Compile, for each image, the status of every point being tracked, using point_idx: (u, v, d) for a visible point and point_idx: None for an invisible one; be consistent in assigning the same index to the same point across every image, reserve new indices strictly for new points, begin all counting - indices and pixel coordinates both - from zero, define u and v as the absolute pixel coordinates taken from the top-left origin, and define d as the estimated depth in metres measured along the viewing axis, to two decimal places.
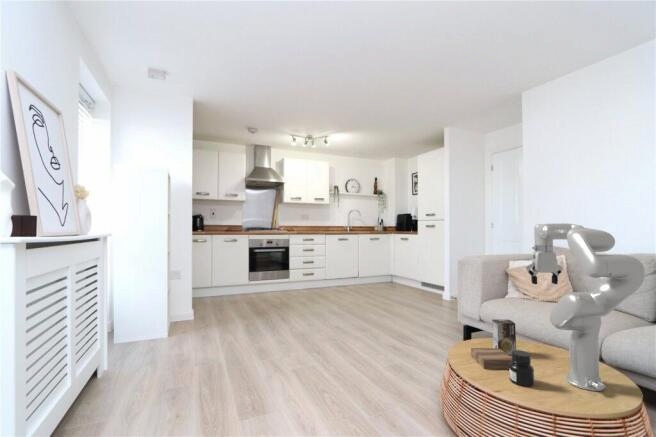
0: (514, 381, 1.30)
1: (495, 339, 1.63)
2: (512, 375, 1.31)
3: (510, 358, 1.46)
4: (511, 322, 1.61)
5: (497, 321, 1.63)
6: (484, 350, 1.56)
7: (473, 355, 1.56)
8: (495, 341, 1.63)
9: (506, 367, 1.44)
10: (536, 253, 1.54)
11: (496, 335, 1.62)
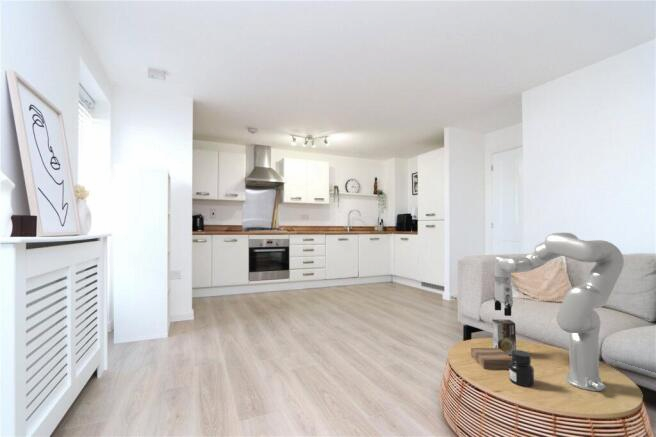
0: (514, 381, 1.30)
1: (495, 339, 1.63)
2: (512, 375, 1.31)
3: (510, 358, 1.46)
4: (511, 322, 1.61)
5: (497, 321, 1.63)
6: (484, 350, 1.56)
7: (473, 355, 1.56)
8: (495, 341, 1.63)
9: (506, 367, 1.44)
10: (510, 285, 1.59)
11: (496, 335, 1.62)
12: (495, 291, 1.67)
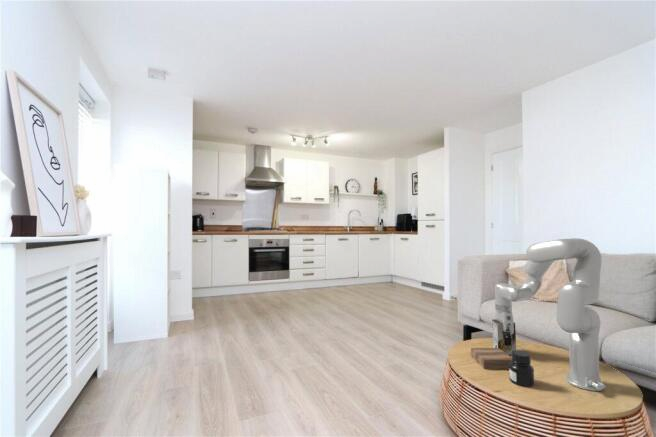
0: (514, 381, 1.30)
1: (495, 339, 1.63)
2: (512, 375, 1.31)
3: (510, 358, 1.46)
4: None
5: (497, 321, 1.63)
6: (484, 350, 1.56)
7: (473, 355, 1.56)
8: (495, 340, 1.63)
9: (506, 367, 1.44)
10: (511, 314, 1.59)
11: (496, 335, 1.62)
12: (496, 319, 1.66)
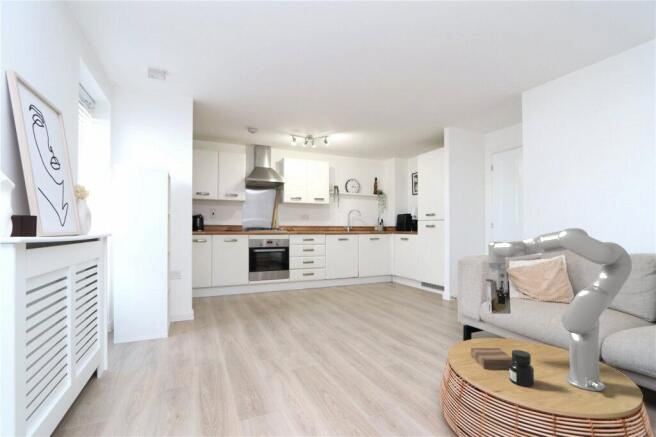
0: (514, 381, 1.30)
1: (489, 298, 1.58)
2: (512, 375, 1.31)
3: (510, 358, 1.46)
4: None
5: (490, 280, 1.58)
6: (484, 350, 1.56)
7: (473, 355, 1.56)
8: (488, 300, 1.59)
9: (506, 367, 1.44)
10: (504, 271, 1.54)
11: (489, 294, 1.57)
12: (490, 278, 1.61)
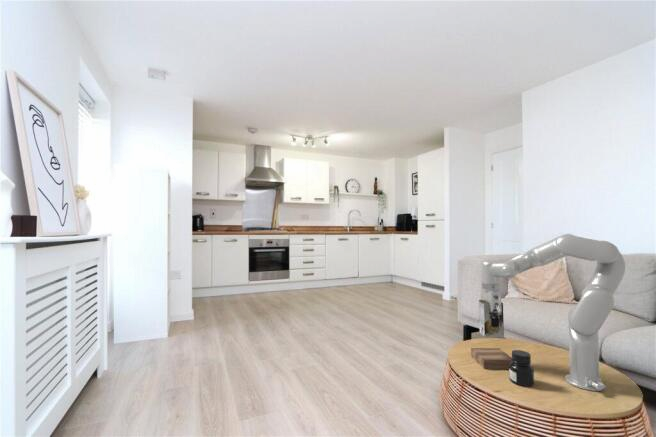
0: (514, 381, 1.30)
1: (482, 320, 1.52)
2: (512, 375, 1.31)
3: (510, 358, 1.46)
4: None
5: (484, 301, 1.52)
6: (484, 350, 1.56)
7: (473, 355, 1.56)
8: (481, 322, 1.52)
9: (506, 367, 1.44)
10: (498, 293, 1.48)
11: (482, 316, 1.50)
12: (483, 299, 1.55)
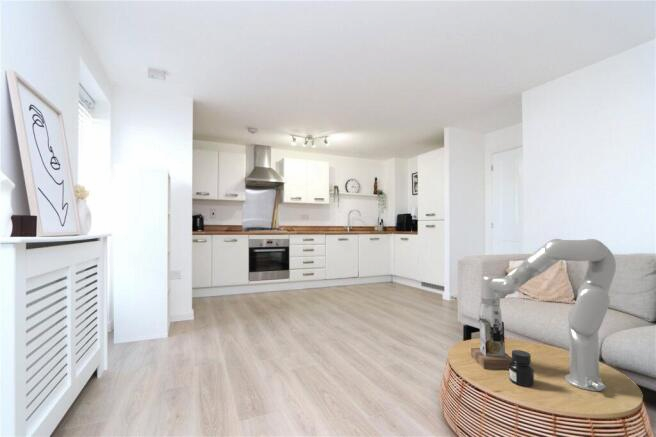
0: (514, 381, 1.30)
1: (483, 339, 1.51)
2: (512, 375, 1.31)
3: (510, 358, 1.46)
4: None
5: (485, 320, 1.51)
6: None
7: (473, 355, 1.56)
8: (482, 341, 1.52)
9: (506, 367, 1.44)
10: (498, 308, 1.47)
11: (483, 335, 1.50)
12: (483, 313, 1.55)
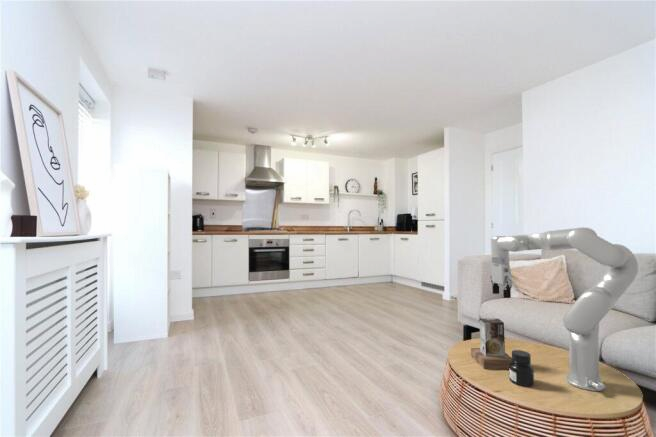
0: (514, 381, 1.30)
1: (483, 339, 1.51)
2: (512, 375, 1.31)
3: (510, 358, 1.46)
4: (500, 322, 1.49)
5: (485, 320, 1.51)
6: None
7: (473, 355, 1.56)
8: (482, 341, 1.52)
9: (506, 367, 1.44)
10: (508, 266, 1.51)
11: (483, 335, 1.50)
12: (493, 273, 1.58)
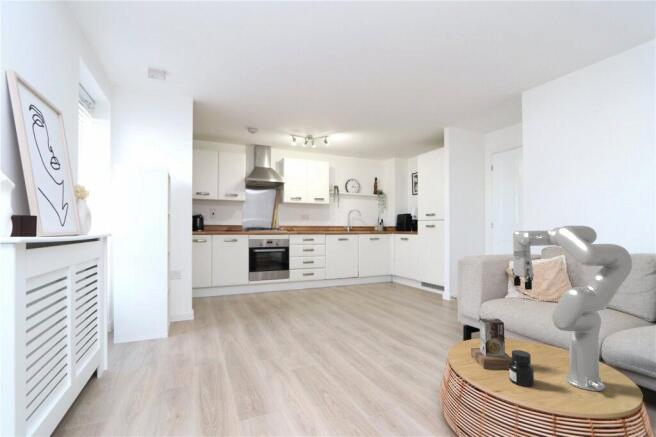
0: (514, 381, 1.30)
1: (483, 339, 1.51)
2: (512, 375, 1.31)
3: (510, 358, 1.46)
4: (500, 322, 1.49)
5: (485, 320, 1.51)
6: None
7: (473, 355, 1.56)
8: (482, 341, 1.52)
9: (506, 367, 1.44)
10: (530, 259, 1.59)
11: (483, 335, 1.50)
12: (514, 266, 1.67)
